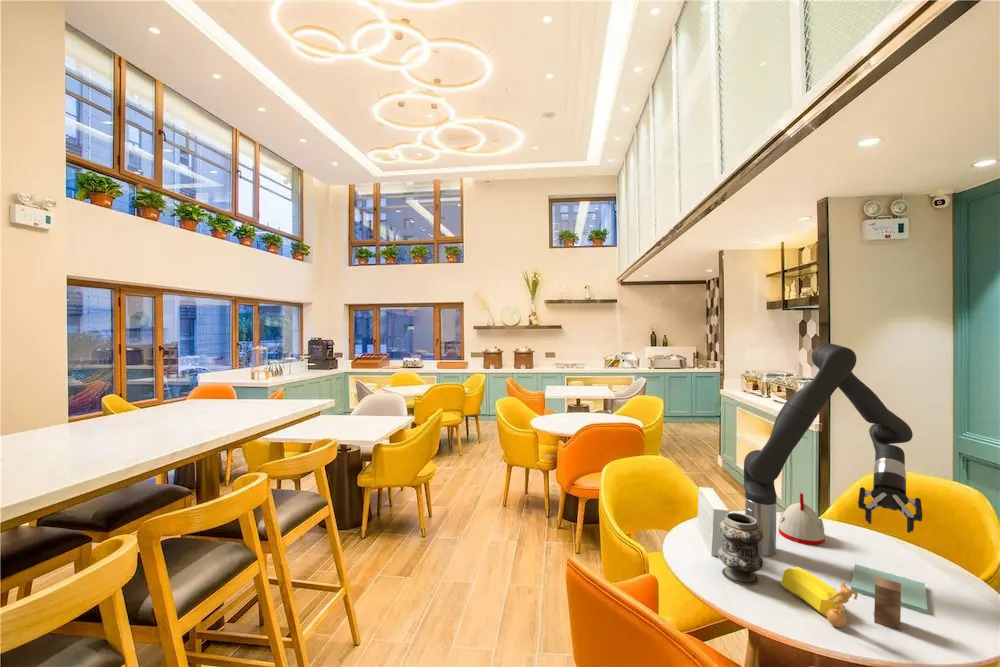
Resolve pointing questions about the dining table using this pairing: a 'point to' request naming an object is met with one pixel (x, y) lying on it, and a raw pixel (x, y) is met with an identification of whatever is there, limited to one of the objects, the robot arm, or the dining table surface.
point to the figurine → (836, 614)
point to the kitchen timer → (801, 524)
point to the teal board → (910, 589)
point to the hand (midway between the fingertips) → (888, 527)
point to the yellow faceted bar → (810, 589)
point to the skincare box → (711, 519)
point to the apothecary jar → (740, 548)
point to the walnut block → (887, 603)
